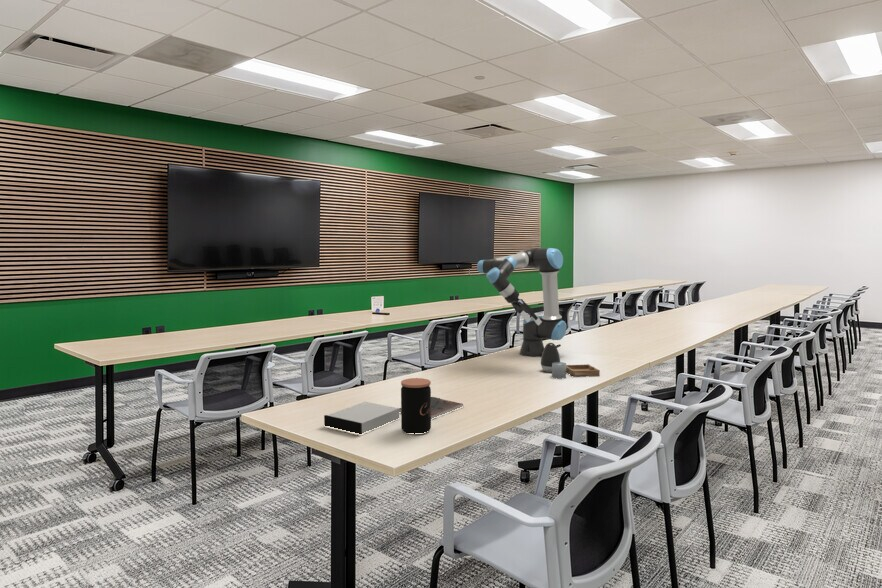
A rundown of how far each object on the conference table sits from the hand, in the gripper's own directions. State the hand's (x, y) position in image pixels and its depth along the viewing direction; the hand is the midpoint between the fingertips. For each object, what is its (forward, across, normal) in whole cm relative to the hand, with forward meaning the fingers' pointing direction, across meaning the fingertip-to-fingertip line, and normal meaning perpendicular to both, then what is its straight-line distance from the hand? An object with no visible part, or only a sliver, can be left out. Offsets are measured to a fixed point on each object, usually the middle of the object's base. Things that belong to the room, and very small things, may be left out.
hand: (534, 322), depth 294 cm
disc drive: (-46, +64, -92) cm, 122 cm away
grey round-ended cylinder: (+23, +18, -14) cm, 32 cm away
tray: (+32, +14, -3) cm, 35 cm away
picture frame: (-27, +55, -71) cm, 94 cm away
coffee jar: (-34, +78, -79) cm, 116 cm away
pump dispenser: (+24, +5, -12) cm, 27 cm away
